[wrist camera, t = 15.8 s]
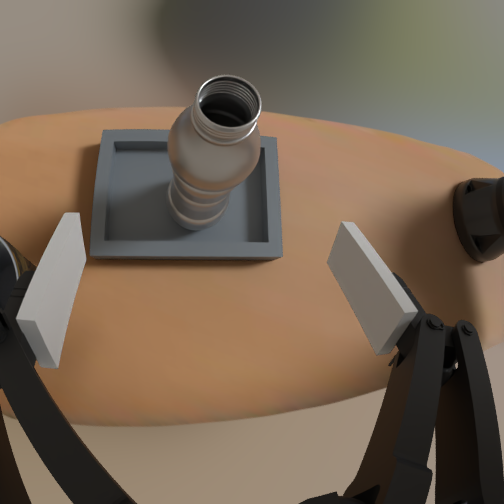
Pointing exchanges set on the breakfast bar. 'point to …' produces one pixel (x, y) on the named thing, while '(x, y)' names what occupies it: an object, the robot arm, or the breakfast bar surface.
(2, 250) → the ceramic cup
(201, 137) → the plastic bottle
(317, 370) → the breakfast bar surface
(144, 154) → the tray
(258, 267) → the breakfast bar surface
